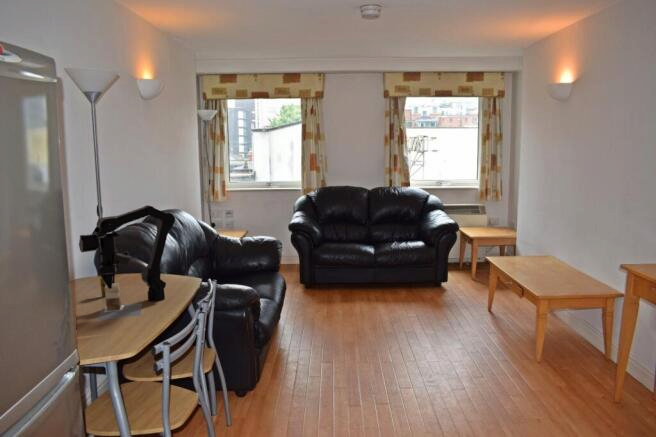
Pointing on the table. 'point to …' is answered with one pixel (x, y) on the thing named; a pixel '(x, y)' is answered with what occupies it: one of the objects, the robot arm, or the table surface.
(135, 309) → the grey base plate
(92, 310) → the table surface
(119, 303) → the walnut block
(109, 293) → the birch block
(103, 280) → the condiment
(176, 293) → the table surface
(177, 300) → the table surface
